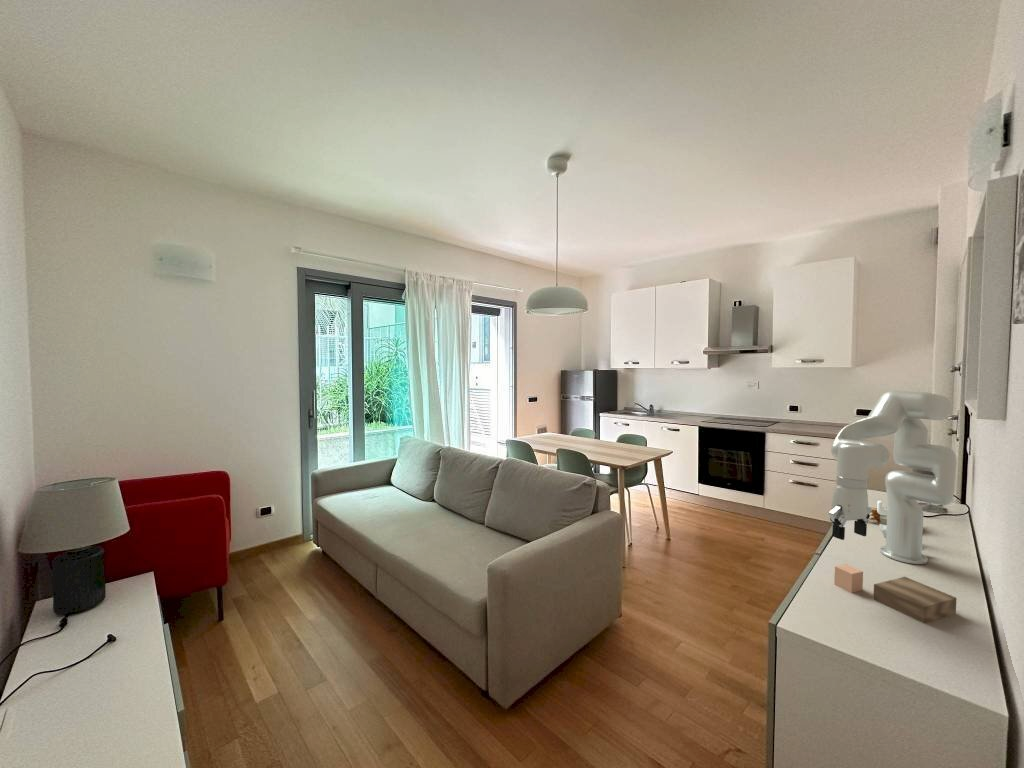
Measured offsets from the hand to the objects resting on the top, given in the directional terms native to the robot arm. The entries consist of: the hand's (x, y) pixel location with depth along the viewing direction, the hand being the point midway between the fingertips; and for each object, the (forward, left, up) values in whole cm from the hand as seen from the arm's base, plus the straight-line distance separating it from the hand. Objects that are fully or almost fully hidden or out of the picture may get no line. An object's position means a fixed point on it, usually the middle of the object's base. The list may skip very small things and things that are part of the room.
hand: (849, 536), depth 128 cm
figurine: (-56, -20, -17) cm, 62 cm away
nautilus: (-71, -31, -17) cm, 79 cm away
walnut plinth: (-8, +13, -17) cm, 23 cm away
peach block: (-1, 0, -17) cm, 17 cm away
